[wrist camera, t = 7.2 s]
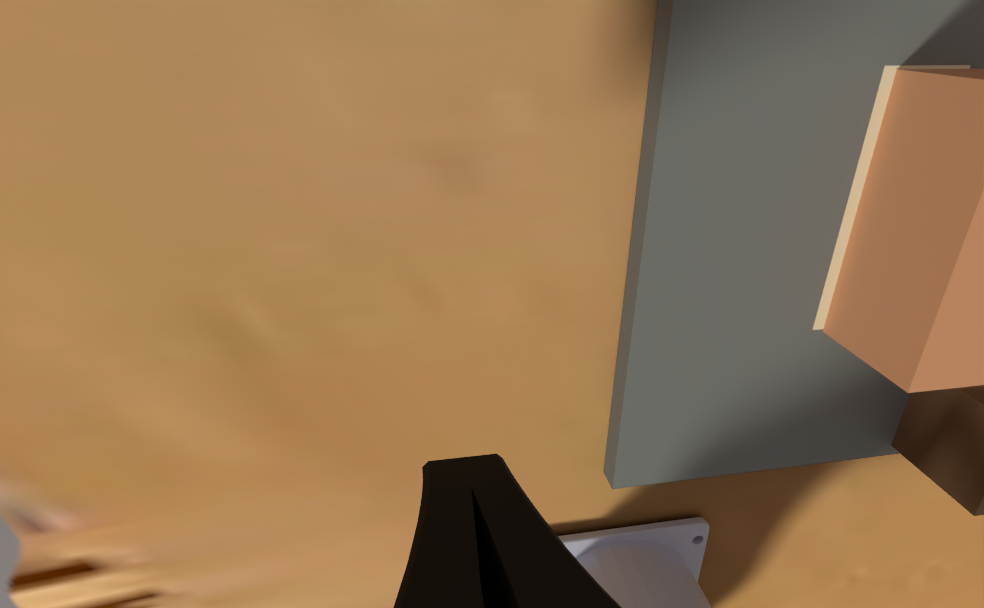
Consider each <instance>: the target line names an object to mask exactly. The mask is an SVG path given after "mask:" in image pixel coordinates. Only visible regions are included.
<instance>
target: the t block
mask: <svg viewBox="0 0 984 608" xmlns="http://www.w3.org/2000/svg"><path fill="white" fill-rule="evenodd" d="M823 332H824V333H825V334H827V335H828V336H830V337H831V338H832V339H834V340H835V341H836V342H838V343H839V344H841V345H842V346H843V347H845V348H846V349H848V350H849V351H850V352H852V353H853V354H854V355H856V356H857V357H859V358H860V359H861V360H863V361H864V362H866V363H867V364H868V365H870V366H871V367H872V368H874V369H875V370H877V371H878V372H879V373H881V374H882V375H883V376H885V377H886V378H888V379H889V380H890V381H892V382H893V383H895V384H896V385H897V386H899V387H900V388H901V389H903V390H904V391H906V392H907V393H914V392H923V391H932V390H942V389H951V388H960V387H970V386H979V385H984V69H982V68H980V69H897V70H896V74H895V77H894V81H893V84H892V88H891V91H890V95H889V98H888V102H887V105H886V109H885V112H884V116H883V120H882V123H881V127H880V130H879V134H878V137H877V141H876V144H875V148H874V151H873V155H872V159H871V162H870V166H869V169H868V173H867V176H866V180H865V183H864V187H863V190H862V194H861V198H860V201H859V205H858V208H857V212H856V215H855V219H854V222H853V226H852V229H851V233H850V237H849V240H848V244H847V247H846V251H845V254H844V258H843V261H842V265H841V268H840V272H839V276H838V279H837V283H836V286H835V290H834V293H833V297H832V300H831V304H830V307H829V311H828V314H827V318H826V322H825V325H824V329H823Z"/></svg>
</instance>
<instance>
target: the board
mask: <svg viewBox="0 0 984 608" xmlns="http://www.w3.org/2000/svg"><path fill="white" fill-rule="evenodd" d="M980 68H982V69H984V0H658V7H657V16H656V24H655V33H654V42H653V50H652V59H651V68H650V76H649V85H648V94H647V102H646V111H645V119H644V128H643V137H642V145H641V154H640V163H639V171H638V180H637V188H636V197H635V206H634V214H633V223H632V232H631V240H630V249H629V258H628V266H627V275H626V283H625V292H624V301H623V309H622V318H621V327H620V335H619V344H618V352H617V361H616V370H615V378H614V387H613V396H612V404H611V413H610V422H609V430H608V439H607V447H606V456H605V465H604V474H605V476H606V478H607V480H608V482H609V484H610V486H611V488H612V489H617V488H625V487H633V486H641V485H649V484H658V483H666V482H674V481H682V480H690V479H698V478H706V477H714V476H722V475H730V474H738V473H746V472H754V471H762V470H770V469H778V468H786V467H794V466H802V465H810V464H818V463H826V462H835V461H843V460H851V459H859V458H867V457H875V456H883V455H891V454H899V452H898V451H897V450H896V449H895V448H893V447H892V446H891V444H892V442H893V439H894V436H895V434H896V431H897V428H898V426H899V423H900V420H901V418H902V415H903V412H904V410H905V407H906V404H907V402H908V399H909V396H910V394H911V393H907V392H906V391H904V390H903V389H901V388H900V387H899V386H897V385H896V384H895V383H893V382H892V381H890V380H889V379H888V378H886V377H885V376H883V375H882V374H881V373H879V372H878V371H877V370H875V369H874V368H872V367H871V366H870V365H868V364H867V363H866V362H864V361H863V360H861V359H860V358H859V357H857V356H856V355H854V354H853V353H852V352H850V351H849V350H848V349H846V348H845V347H843V346H842V345H841V344H839V343H838V342H836V341H835V340H834V339H832V338H831V337H830V336H828V335H827V334H825V333H824V332H823V329H824V325H825V322H826V318H827V314H828V311H829V307H830V304H831V300H832V297H833V293H834V290H835V286H836V283H837V279H838V276H839V272H840V268H841V265H842V261H843V258H844V254H845V251H846V247H847V244H848V240H849V237H850V233H851V229H852V226H853V222H854V219H855V215H856V212H857V208H858V205H859V201H860V198H861V194H862V190H863V187H864V183H865V180H866V176H867V173H868V169H869V166H870V162H871V159H872V155H873V151H874V148H875V144H876V141H877V137H878V134H879V130H880V127H881V123H882V120H883V116H884V112H885V109H886V105H887V102H888V98H889V95H890V91H891V88H892V84H893V81H894V77H895V74H896V70H897V69H980Z"/></svg>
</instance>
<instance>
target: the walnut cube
mask: <svg viewBox="0 0 984 608" xmlns="http://www.w3.org/2000/svg"><path fill="white" fill-rule="evenodd" d="M891 446H892V447H893V448H895V449H896V450H897V451H898V452H899V453H900V454H902V455H903V456H904V457H905V458H906V459H908V460H909V461H910V462H911V463H912V464H913V465H915V466H916V467H917V468H918V469H919V470H921V471H922V472H923V473H924V474H925V475H926V476H928V477H929V478H930V479H931V480H932V481H934V482H935V483H936V484H937V485H938V486H939V487H941V488H942V489H943V490H944V491H945V492H947V493H948V494H949V495H950V496H951V497H952V498H954V499H955V500H956V501H957V502H958V503H960V504H961V505H962V506H963V507H964V508H965V509H967V510H968V511H969V512H970V513H971V514H972V515H974V516H977V515H984V385H979V386H970V387H960V388H951V389H942V390H932V391H923V392H914V393H911V394H910V396H909V399H908V402H907V404H906V407H905V410H904V412H903V415H902V418H901V420H900V423H899V426H898V428H897V431H896V434H895V436H894V439H893V442H892V444H891Z"/></svg>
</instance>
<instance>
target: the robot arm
mask: <svg viewBox="0 0 984 608" xmlns="http://www.w3.org/2000/svg"><path fill="white" fill-rule="evenodd" d="M422 469H423V490H422V499H421V506H420V511H419V517H418V523H417V527H416V531H415V535H414V539H413V544H412V548H411V552H410V556H409V560H408V563H407V567H406V570H405V573H404V577H403V580H402V583H401V586H400V589H399V592H398V596H397V599H396V602H395V605H394V608H712V607H711V605H710V604H709V602H708V600H707V598H706V597H705V595H704V593H703V591H702V589H701V588H700V586H699V584H698V579H699V575H700V570H701V566H702V561H703V557H704V553H705V548H706V544H707V539H708V535H709V530H710V526H709V525H708V523H707V522H706V520H705V519H704V518H702V517H696V518H688V519H681V520H673V521H666V522H659V523H651V524H644V525H636V526H629V527H622V528H614V529H607V530H600V531H592V532H585V533H577V534H570V535H563V536H557V535H556V534H555V533H554V531H553V530H552V529H551V528H550V526H549V525H548V524H547V523H546V521H545V520H544V519H543V517H542V516H541V515H540V513H539V512H538V511H537V509H536V508H535V507H534V505H533V504H532V503H531V501H530V500H529V498H528V497H527V495H526V494H525V493H524V491H523V490H522V488H521V487H520V485H519V484H518V482H517V481H516V479H515V478H514V476H513V475H512V473H511V472H510V470H509V468H508V467H507V465H506V463H505V462H504V460H503V458H502V457H500V456H499V455H498V454H490V455H481V456H472V457H463V458H454V459H445V460H436V461H428V462H427V463H426V464H425V465H424V466H423V467H422Z"/></svg>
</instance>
